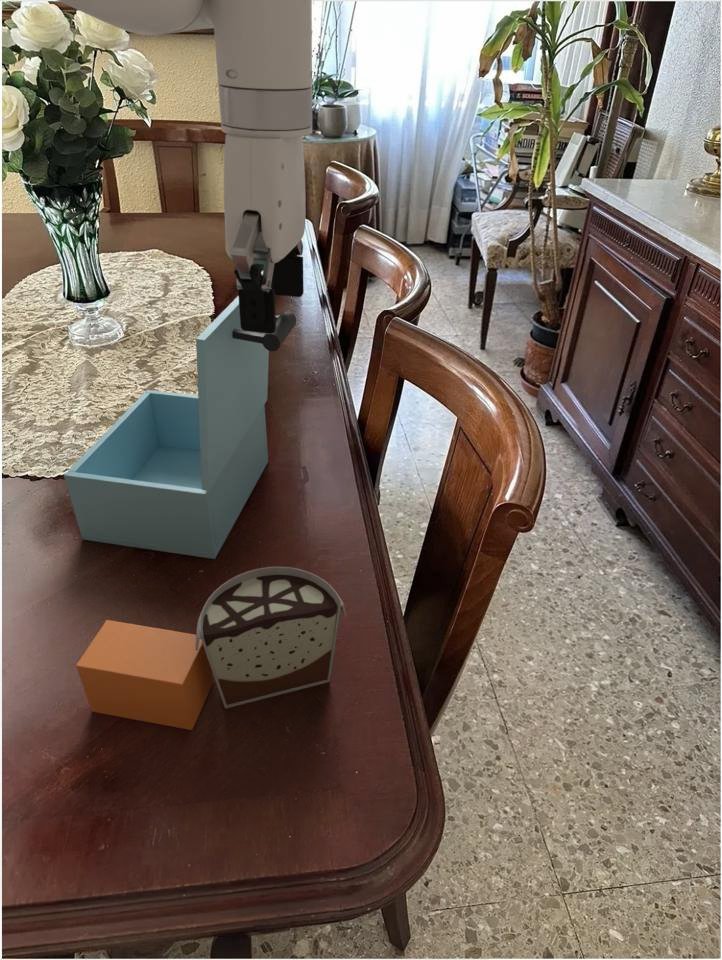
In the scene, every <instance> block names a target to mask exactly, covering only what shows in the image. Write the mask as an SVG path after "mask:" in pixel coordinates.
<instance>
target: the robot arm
mask: <svg viewBox="0 0 722 960" xmlns="http://www.w3.org/2000/svg"><path fill="white" fill-rule="evenodd" d="M56 1H58V2H59V3H62V4H64V5H66V6H69V7H71V8H73V9H75V10H77V11H79V12H82V13H84V14H86V15H88V16H91V17H93V18H95V19H97V20H99V21H101V22H104V23H106V24H108V25H110V26H113V27H115V28H118V29H120V30H124V31H126V32H128V33H132V34H136V35H140V36H158V35H169V34H177V33H182V32H190V31H198V30H207V29H213V32H214V34H213V35H214V46H215V47H214V48H215V60H216V73H217V86H218V97H219V98H218V100H219V110H220V111H219V113H220V128H221V129H220V130H221V132H223V133H224V134H225V139H224V140H225V141H224V152H223V153H224V155H223V211H224V213H223V214H224V237H225V239H224V240H225V251H226V254H227V257H229V258H230V259H231V260H233V263H234V270H233V272H234V273H233V274H234V275H235V277H236V281H235V283H236V289H237V293H238V295H239V310H240V324H241V329H242V330H244V331H251V332H260V333H269V334H272V333H274V332H275V330H276V315H277V314H276V313H277V311H276V296H282V297H283V296H284V297H292V298H294V297H295V298H301V297H302V296H303V295H304V292H305V291H304V290H305V289H304V256H303V254H304V243H303V237H304V235H305V230H306V219H307V218H306V217H307V216H306V215H307V214H306V209H307V208H306V207H307V203H306V201H307V200H306V197H307V196H306V173H305V172H306V171H305V149H304V137H307V136H310V135H312V134H313V88H312V87H313V0H56ZM253 250H255V251H266V252H268V253H258V252H253ZM253 264H263V265H264V269H263V275H262V274H261V272H260V270H259V268H258V266H257V265H253ZM271 282H272V289H270V288H271ZM238 295H237V296H238Z"/></svg>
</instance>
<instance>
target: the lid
mask: <svg viewBox="0 0 722 960" xmlns="http://www.w3.org/2000/svg"><path fill="white" fill-rule="evenodd" d="M261 274H262V275H263V271H262V272H261ZM270 289H271V288H270ZM296 317H297V316H295V314H294V313H293V312H291V311H283V312H281V313H280V315H278V314H276V330H275V332H274V333H272V334H269V333H260V332H251V331H244V330H242V329H241V324H240V310H239V295H237V296H236V297H235V298H234V299H233V300H232V302H231V303H229V305H228V306H227V307H226V308H225V309H223V310H222V311H221V312H220V314H219V315H217V317H216V318H215V319H214V320H213V321H212V322H211V323H210V324H209V325H208V326H206V328H205V329H204V330H203V331H202V332H201V333H200V334H199V335H198V336H197V337H196V338H195V347H196V349H195V351H196V371H197V372H196V373H197V396H198V404H199V430H200V456H201V482H202V490H205V491H210V489H211V487H212V486H213V484H214V483H215V481H216V480H217V478H218V476H219V475H220V473H221V472H222V470H223V469H224V467H225V466H226V464H227V462H228V461H229V459H230V458H231V456H232V455H233V453H234V451H235V450H236V448H237V447H238V445H239V444H240V442H241V440H242V439H243V437H244V436H245V434H246V433H247V431H248V429H249V428H250V426H251V425H252V423H253V422H254V420H255V419H256V417H257V415H258V414H259V412H260V411H261V409H262V408H263V406H265V404H266V402H267V401H268V392H269V391H268V389H269V359H270V352H277V351H278V350H279V349H280V348H281V346H282V345H283V343H284V342H285V340H286V339H287V338H288V336H289V335H290V333H291V332H292V330H293V329H294V328H295V326H296V324H297V318H296Z"/></svg>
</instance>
